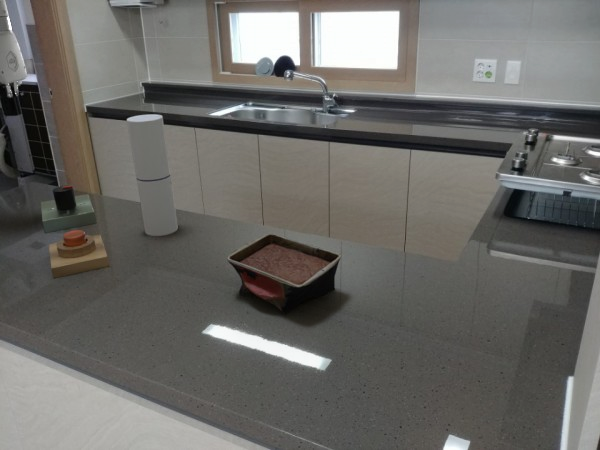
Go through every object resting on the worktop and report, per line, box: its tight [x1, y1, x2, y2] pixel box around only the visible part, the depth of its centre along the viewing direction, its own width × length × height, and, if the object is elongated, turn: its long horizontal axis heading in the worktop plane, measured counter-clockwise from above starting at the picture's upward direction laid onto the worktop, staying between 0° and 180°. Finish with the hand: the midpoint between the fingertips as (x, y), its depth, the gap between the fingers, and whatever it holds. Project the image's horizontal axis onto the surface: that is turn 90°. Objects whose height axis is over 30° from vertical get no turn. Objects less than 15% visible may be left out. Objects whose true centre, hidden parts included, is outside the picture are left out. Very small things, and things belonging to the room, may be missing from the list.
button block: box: [48, 233, 110, 279], centre depth 106 cm, size 12×10×4 cm
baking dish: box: [226, 233, 342, 315], centre depth 91 cm, size 14×18×10 cm
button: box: [62, 229, 86, 247], centre depth 105 cm, size 4×4×2 cm
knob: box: [52, 185, 76, 210], centre depth 126 cm, size 4×4×5 cm
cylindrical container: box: [126, 113, 179, 237], centre depth 115 cm, size 7×7×25 cm
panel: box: [40, 193, 97, 234], centre depth 128 cm, size 14×11×3 cm
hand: (13, 115), depth 118 cm, fingers closed
